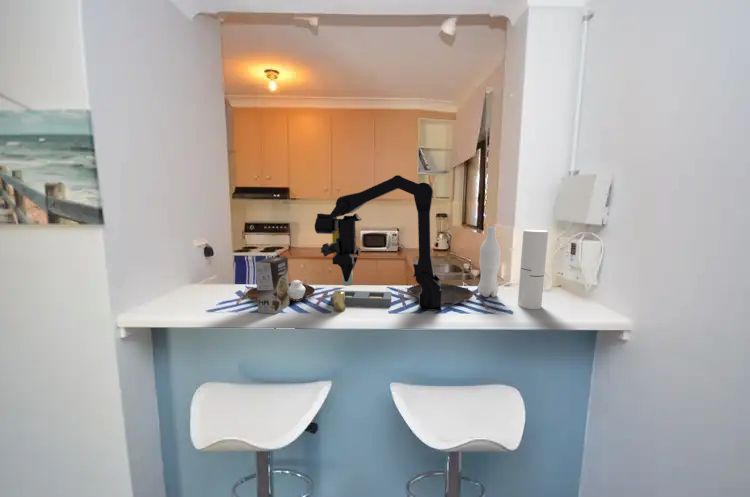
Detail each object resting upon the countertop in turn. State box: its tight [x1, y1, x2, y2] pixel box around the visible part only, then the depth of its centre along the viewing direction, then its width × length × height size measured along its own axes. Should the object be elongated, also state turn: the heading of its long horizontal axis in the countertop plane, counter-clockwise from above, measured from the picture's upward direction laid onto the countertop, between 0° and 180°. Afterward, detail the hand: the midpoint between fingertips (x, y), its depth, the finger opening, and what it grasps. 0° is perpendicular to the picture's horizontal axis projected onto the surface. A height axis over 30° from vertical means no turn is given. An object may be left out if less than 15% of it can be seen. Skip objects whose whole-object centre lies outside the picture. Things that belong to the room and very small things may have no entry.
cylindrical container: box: [517, 229, 549, 310], centre depth 105 cm, size 7×7×25 cm
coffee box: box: [255, 256, 290, 315], centre depth 101 cm, size 9×6×16 cm
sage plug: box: [341, 269, 354, 287], centre depth 109 cm, size 4×4×6 cm
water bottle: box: [477, 226, 502, 298], centre depth 115 cm, size 7×7×25 cm
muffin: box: [289, 279, 306, 299], centre depth 111 cm, size 6×6×7 cm
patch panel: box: [329, 290, 392, 307], centre depth 109 cm, size 20×8×3 cm, turn 85°
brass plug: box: [333, 289, 346, 313], centre depth 101 cm, size 4×4×6 cm
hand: (347, 280), depth 109 cm, fingers closed on sage plug, 3 cm apart
